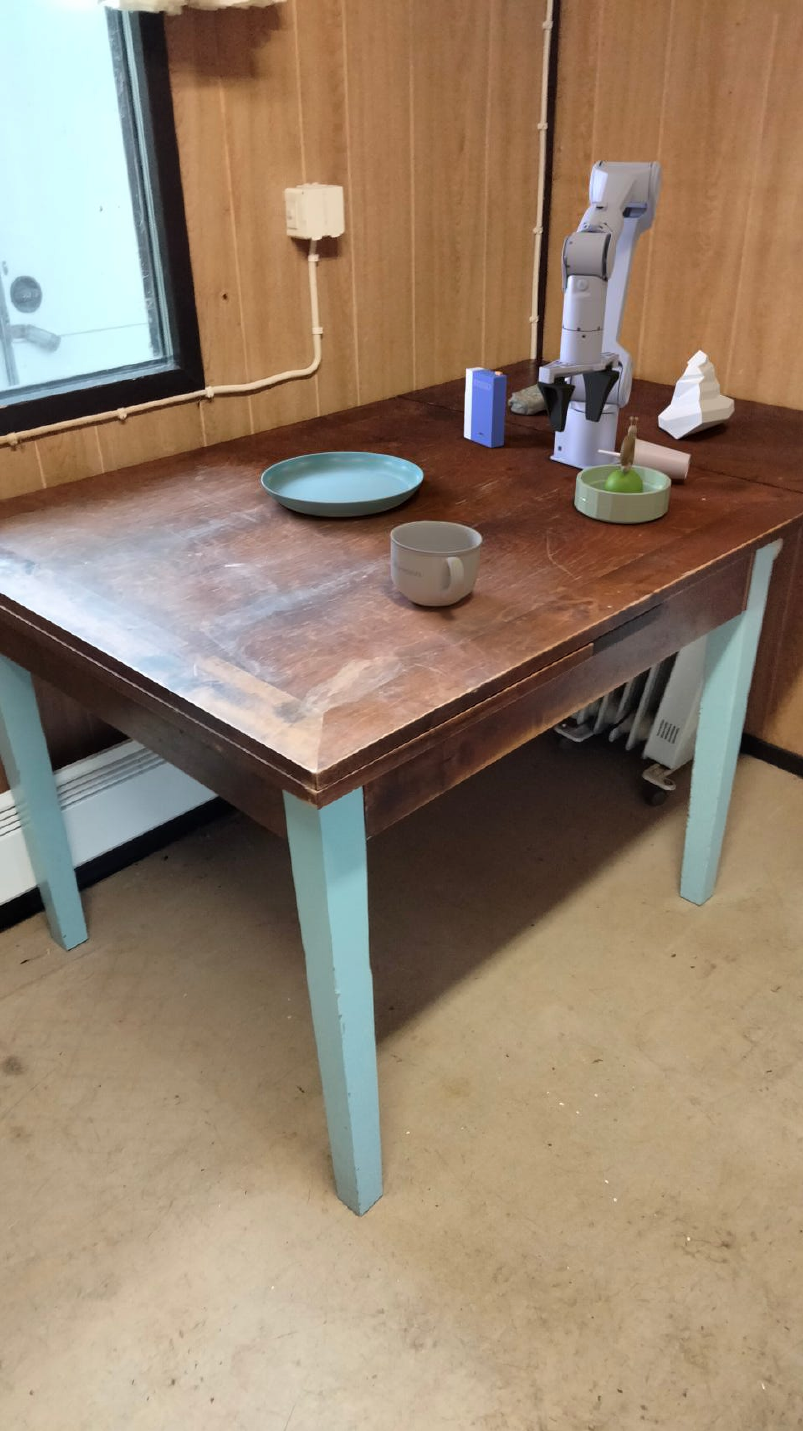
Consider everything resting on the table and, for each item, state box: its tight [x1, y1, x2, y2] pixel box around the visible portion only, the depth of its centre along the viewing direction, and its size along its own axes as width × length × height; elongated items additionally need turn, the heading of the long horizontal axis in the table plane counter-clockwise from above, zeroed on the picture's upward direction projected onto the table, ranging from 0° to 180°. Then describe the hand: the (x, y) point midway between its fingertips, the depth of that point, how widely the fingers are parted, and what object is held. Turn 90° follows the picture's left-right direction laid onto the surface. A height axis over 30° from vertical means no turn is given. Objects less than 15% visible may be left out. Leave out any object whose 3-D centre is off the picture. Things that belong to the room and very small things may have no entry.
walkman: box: [463, 366, 508, 449], centre depth 175 cm, size 8×3×12 cm, turn 33°
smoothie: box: [598, 438, 692, 480], centre depth 160 cm, size 6×6×14 cm
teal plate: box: [260, 451, 424, 518], centre depth 155 cm, size 24×24×3 cm
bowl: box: [573, 464, 672, 524], centre depth 149 cm, size 13×13×4 cm
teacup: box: [389, 520, 483, 607], centre depth 122 cm, size 14×11×8 cm
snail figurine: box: [605, 416, 643, 493], centre depth 147 cm, size 5×6×12 cm
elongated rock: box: [507, 383, 547, 416], centre depth 203 cm, size 35×5×10 cm
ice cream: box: [657, 349, 735, 440], centre depth 180 cm, size 12×15×14 cm
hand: (575, 425), depth 150 cm, fingers open, 7 cm apart
